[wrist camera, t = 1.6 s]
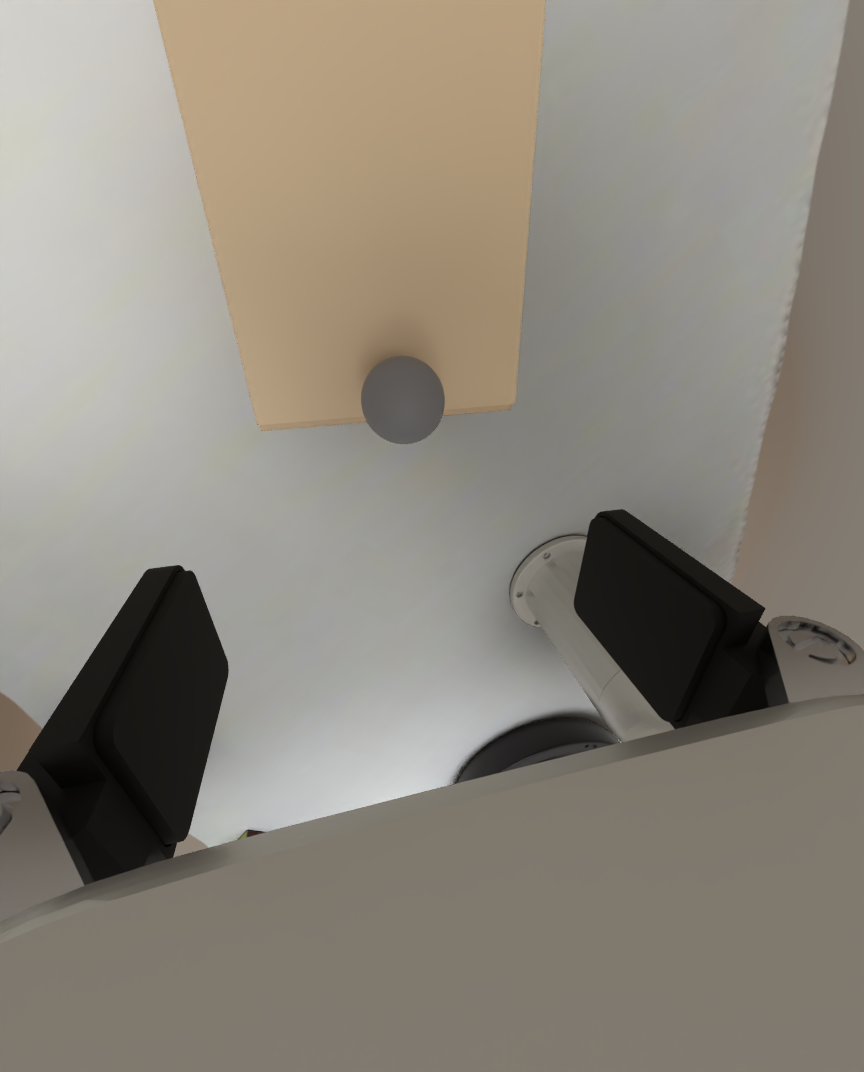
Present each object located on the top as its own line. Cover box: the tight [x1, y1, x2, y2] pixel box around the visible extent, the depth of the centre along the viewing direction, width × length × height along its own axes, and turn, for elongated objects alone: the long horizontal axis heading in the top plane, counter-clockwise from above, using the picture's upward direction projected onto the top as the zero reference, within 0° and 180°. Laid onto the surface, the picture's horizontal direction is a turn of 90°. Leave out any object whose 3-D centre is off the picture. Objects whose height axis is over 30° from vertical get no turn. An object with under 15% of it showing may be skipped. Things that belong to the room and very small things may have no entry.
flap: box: [153, 0, 546, 444], centre depth 16 cm, size 15×22×6 cm
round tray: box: [457, 717, 620, 783], centre depth 66 cm, size 30×6×30 cm
